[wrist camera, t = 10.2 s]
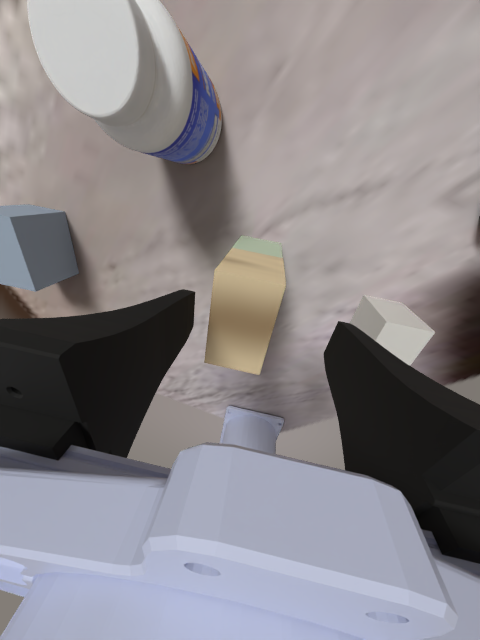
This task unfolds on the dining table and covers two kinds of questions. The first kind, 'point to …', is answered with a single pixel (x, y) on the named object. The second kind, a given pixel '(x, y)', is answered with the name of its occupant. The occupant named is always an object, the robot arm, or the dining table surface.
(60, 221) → the slate-blue brick
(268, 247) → the sage brick
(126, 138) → the pill bottle
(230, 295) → the oak brick
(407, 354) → the grey brick
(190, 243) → the dining table surface
